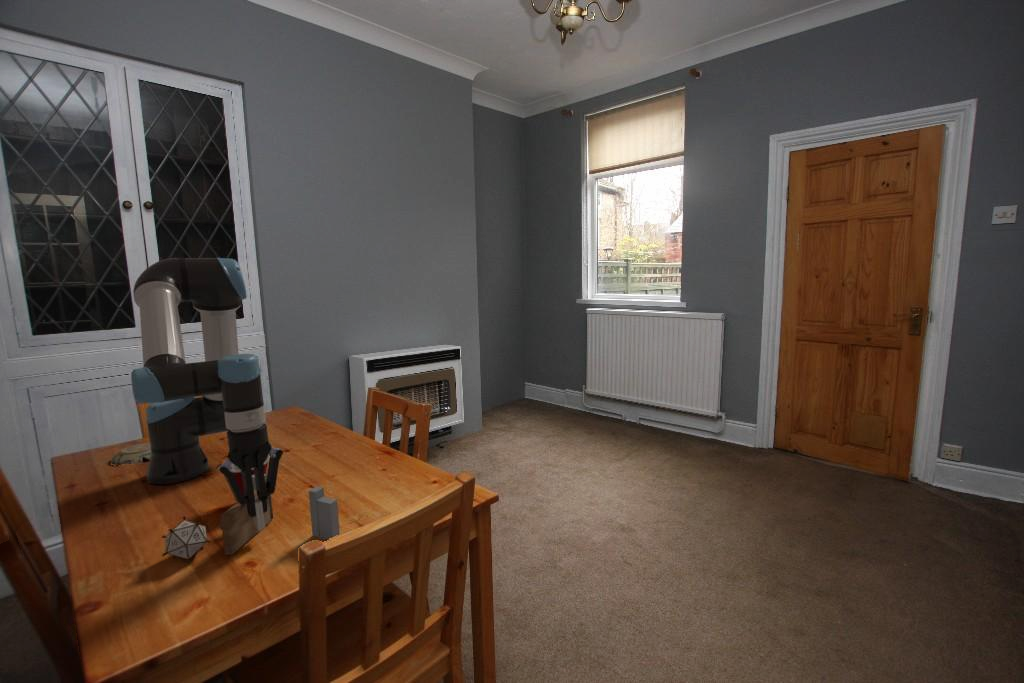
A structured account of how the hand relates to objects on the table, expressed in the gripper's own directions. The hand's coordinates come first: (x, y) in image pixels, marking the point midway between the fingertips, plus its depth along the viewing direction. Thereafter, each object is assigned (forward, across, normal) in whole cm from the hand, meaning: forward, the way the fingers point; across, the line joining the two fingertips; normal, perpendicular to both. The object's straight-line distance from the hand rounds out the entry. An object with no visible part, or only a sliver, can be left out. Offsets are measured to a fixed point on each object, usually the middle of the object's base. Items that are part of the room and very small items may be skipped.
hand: (259, 527), depth 104 cm
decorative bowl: (+3, -9, +81) cm, 82 cm away
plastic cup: (+3, +4, +20) cm, 21 cm away
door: (+3, -1, +4) cm, 5 cm away
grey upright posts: (+3, +7, 0) cm, 8 cm away
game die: (+3, -13, +5) cm, 14 cm away
